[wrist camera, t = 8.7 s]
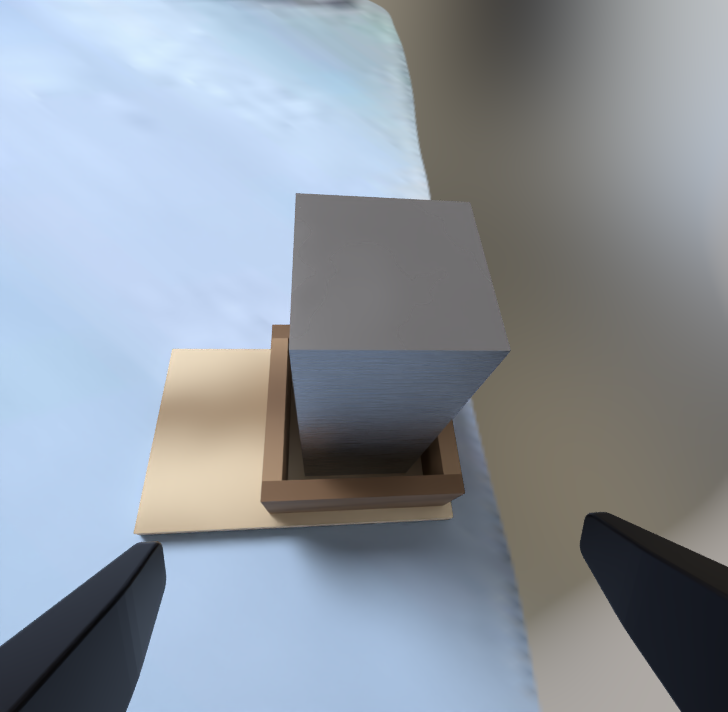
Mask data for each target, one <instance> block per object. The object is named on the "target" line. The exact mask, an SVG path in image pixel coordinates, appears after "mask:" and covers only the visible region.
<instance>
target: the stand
mask: <svg viewBox="0 0 728 712" xmlns="http://www.w3.org/2000/svg"><path fill="white" fill-rule="evenodd" d="M289 336H290V325H272V339H271V349H172V353H171V358H170V363H169V368H168V372H167V377H166V382H165V386H164V391H163V396H162V401H161V405H160V410H159V415H158V420H157V424H156V429H155V434H154V439H153V443H152V448H151V453H150V458H149V462H148V467H147V472H146V477H145V481H144V486H143V491H142V496H141V500H140V505H139V510H138V515H137V519H136V524H135V529H134V534H137V535H152V534H171V533H191V532H211V531H231V530H250V529H270V528H290V527H310V526H329V525H349V524H369V523H389V522H409V521H428V520H448V519H451V518H453V512H452V506H451V501H452V500H454V499H456V498H457V497H459V496H461V495H463V494H465V490H464V484H463V478H462V473H461V467H460V461H459V455H458V450H457V444H456V438H455V433H454V427H453V421H452V420H451V421H450V422H449V423H448V425H447V426H446V427H445V428H444V429H443V430H442V432H441V433H440V434H439V435H438V436H437V437H436V439H435V440H434V441H433V442H432V443H431V444H430V446H429V447H428V448H427V449H426V450H425V451H424V453H423V454H422V455H421V456H420V457H419V458H418V460H417V461H416V462H415V463H414V464H413V465H412V466H411V468H410V469H409V470H408V471H407V472H406V473H392V474H361V475H331V476H305V473H304V465H303V457H302V449H301V441H300V433H299V426H298V418H297V410H296V402H295V394H294V386H293V378H292V370H291V363H290V355H289Z"/></svg>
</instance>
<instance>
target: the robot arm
mask: <svg viewBox="0 0 728 712" xmlns="http://www.w3.org/2000/svg"><path fill="white" fill-rule="evenodd" d="M580 550H581V553H582V555H583V558H584V559H585V561H586V563H587V564H588V566H589V568H590V569H591V572H592V573H593V575H594V577H595V578H596V580H597V582H598V584H599V585H600V587H601V589H602V591H603V592H604V594H605V596H606V598H607V599H608V601H609V603H610V605H611V606H612V608H613V610H614V612H615V613H616V615H617V617H618V618H619V620H620V622H621V623H622V625H623V627H624V628H625V630H626V631H627V633H628V634H629V636H630V637H631V639H632V640H633V642H634V643H635V645H636V646H637V648H638V649H639V651H640V652H641V653H642V655H643V656H644V658H645V659H646V661H647V662H648V664H649V665H650V667H651V668H652V670H653V671H654V673H655V674H656V676H657V677H658V679H659V680H660V681H661V683H662V684H663V686H664V687H665V689H666V690H667V692H668V693H669V695H670V696H671V698H672V699H673V700H674V702H675V704H676V705H677V706H678V708H679V709H680V711H681V712H728V567H727V566H725V565H722V564H720V563H718V562H716V561H714V560H711V559H709V558H707V557H705V556H702V555H700V554H698V553H696V552H694V551H691V550H689V549H687V548H685V547H683V546H681V545H678V544H676V543H674V542H672V541H670V540H667V539H665V538H663V537H661V536H658V535H656V534H654V533H652V532H650V531H647V530H645V529H643V528H641V527H639V526H636V525H634V524H632V523H630V522H627V521H625V520H623V519H621V518H619V517H617V516H614V515H612V514H610V513H607V512H595V513H589V514H588V515H586V517H585V520H584V525H583V530H582V535H581V540H580ZM165 585H166V570H165V562H164V554H163V547H162V545H161V543H160V542H158V541H151V542H139V543H136V544H135V545H133V546H132V547H131V548H129V549H128V550H127V551H125V552H124V553H123V554H122V555H120V556H119V557H118V558H116V559H115V560H114V561H112V562H111V563H110V564H108V565H107V566H106V567H104V568H103V569H102V570H100V571H99V572H98V573H96V574H95V575H94V576H92V577H91V578H90V579H89V580H87V581H86V582H85V583H83V584H82V585H81V586H79V587H78V588H77V589H75V590H74V591H73V592H71V593H70V594H69V595H67V596H66V597H65V598H63V599H62V600H61V601H59V602H58V603H57V604H56V605H54V606H53V607H52V608H50V609H49V610H48V611H46V612H45V613H44V614H42V615H41V616H40V617H38V618H37V619H36V620H34V621H33V622H32V623H30V624H29V625H28V626H26V627H25V628H24V629H23V630H21V631H20V632H19V633H17V634H16V635H15V636H13V637H12V638H11V639H9V640H8V641H7V642H5V643H4V644H3V645H1V646H0V712H126V710H127V708H128V705H129V703H130V700H131V698H132V695H133V692H134V690H135V687H136V684H137V681H138V679H139V676H140V672H141V669H142V666H143V663H144V659H145V656H146V652H147V649H148V645H149V642H150V638H151V635H152V632H153V628H154V625H155V621H156V618H157V614H158V611H159V607H160V604H161V600H162V597H163V593H164V590H165Z"/></svg>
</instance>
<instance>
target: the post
mask: <svg viewBox="0 0 728 712" xmlns="http://www.w3.org/2000/svg"><path fill="white" fill-rule="evenodd" d="M510 351H511V350H510V346H509V342H508V339H507V335H506V332H505V328H504V324H503V321H502V317H501V313H500V310H499V307H498V303H497V299H496V295H495V291H494V288H493V284H492V281H491V277H490V273H489V270H488V266H487V263H486V259H485V255H484V251H483V248H482V245H481V241H480V237H479V233H478V230H477V226H476V222H475V219H474V215H473V212H472V208H471V205H470V202H456V201H434V200H417V199H397V198H378V197H358V196H339V195H319V194H300V193H296V204H295V226H294V248H293V270H292V292H291V314H290V336H289V355H290V363H291V370H292V378H293V386H294V394H295V402H296V410H297V418H298V426H299V433H300V441H301V449H302V457H303V465H304V473H305V476H331V475H361V474H392V473H406V472H407V471H408V470H409V469H410V468H411V466H412V465H413V464H414V463H415V462H416V461H417V460H418V458H419V457H420V456H421V455H422V454H423V453H424V451H425V450H426V449H427V448H428V447H429V446H430V444H431V443H432V442H433V441H434V440H435V439H436V437H437V436H438V435H439V434H440V433H441V432H442V430H443V429H444V428H445V427H446V426H447V425H448V423H449V422H450V421H451V420H452V419H453V418H454V416H455V415H456V414H457V413H458V412H459V411H460V409H461V408H462V407H463V406H464V405H465V404H466V402H467V401H468V400H469V399H470V398H471V397H472V395H473V394H474V393H475V392H476V391H477V389H478V388H479V387H480V386H481V385H482V384H483V383H484V381H485V380H486V379H487V378H488V377H489V376H490V374H491V373H492V372H493V371H494V370H495V369H496V367H497V366H498V365H499V364H500V363H501V362H502V360H503V359H504V358H505V357H506V356H507V354H508V353H509V352H510Z"/></svg>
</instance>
